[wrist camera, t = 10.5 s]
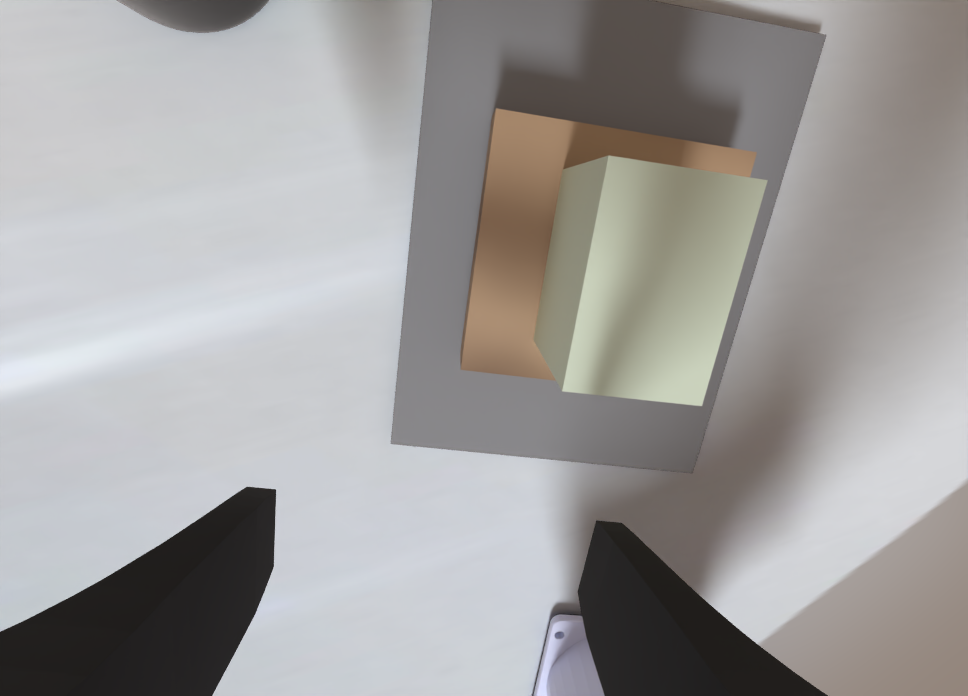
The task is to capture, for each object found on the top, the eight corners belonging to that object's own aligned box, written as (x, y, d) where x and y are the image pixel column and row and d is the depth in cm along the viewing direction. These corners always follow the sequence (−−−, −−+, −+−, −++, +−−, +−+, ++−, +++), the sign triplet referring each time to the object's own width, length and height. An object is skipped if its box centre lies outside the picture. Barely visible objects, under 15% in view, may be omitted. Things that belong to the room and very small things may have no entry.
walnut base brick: (666, 377, 20) (687, 395, 19) (460, 353, 20) (460, 369, 18) (725, 157, 18) (757, 152, 16) (491, 118, 17) (496, 108, 15)
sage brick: (636, 351, 18) (701, 406, 13) (533, 339, 18) (562, 391, 13) (675, 186, 16) (767, 180, 11) (562, 169, 16) (608, 155, 11)
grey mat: (687, 467, 22) (692, 473, 22) (392, 438, 21) (390, 443, 21) (816, 39, 17) (826, 35, 17) (437, -35, 16) (436, -42, 16)
